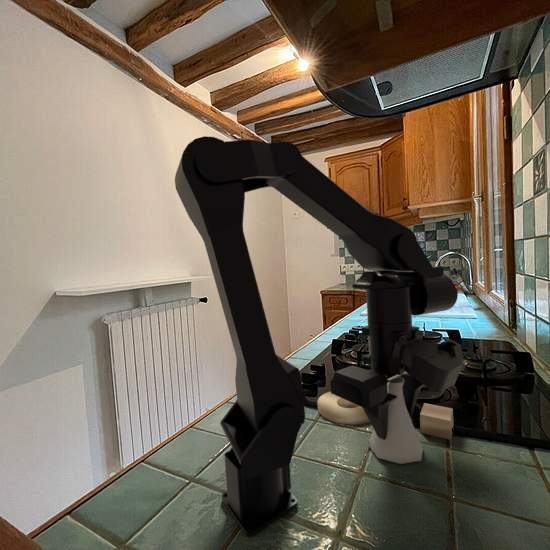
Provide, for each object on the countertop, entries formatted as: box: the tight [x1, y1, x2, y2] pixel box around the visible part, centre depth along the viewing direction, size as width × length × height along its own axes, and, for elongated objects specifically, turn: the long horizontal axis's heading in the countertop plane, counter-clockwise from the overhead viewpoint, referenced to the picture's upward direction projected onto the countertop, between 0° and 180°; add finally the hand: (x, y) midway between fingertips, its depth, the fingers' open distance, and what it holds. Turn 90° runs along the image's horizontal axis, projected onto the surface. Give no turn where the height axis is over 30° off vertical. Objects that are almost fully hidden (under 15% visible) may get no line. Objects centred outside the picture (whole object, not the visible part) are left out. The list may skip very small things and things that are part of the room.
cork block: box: [419, 402, 454, 441], centre depth 46 cm, size 4×4×3 cm
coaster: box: [317, 391, 370, 426], centre depth 54 cm, size 11×11×1 cm
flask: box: [368, 376, 424, 465], centre depth 42 cm, size 7×7×10 cm
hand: (394, 430), depth 42 cm, fingers closed on flask, 5 cm apart
